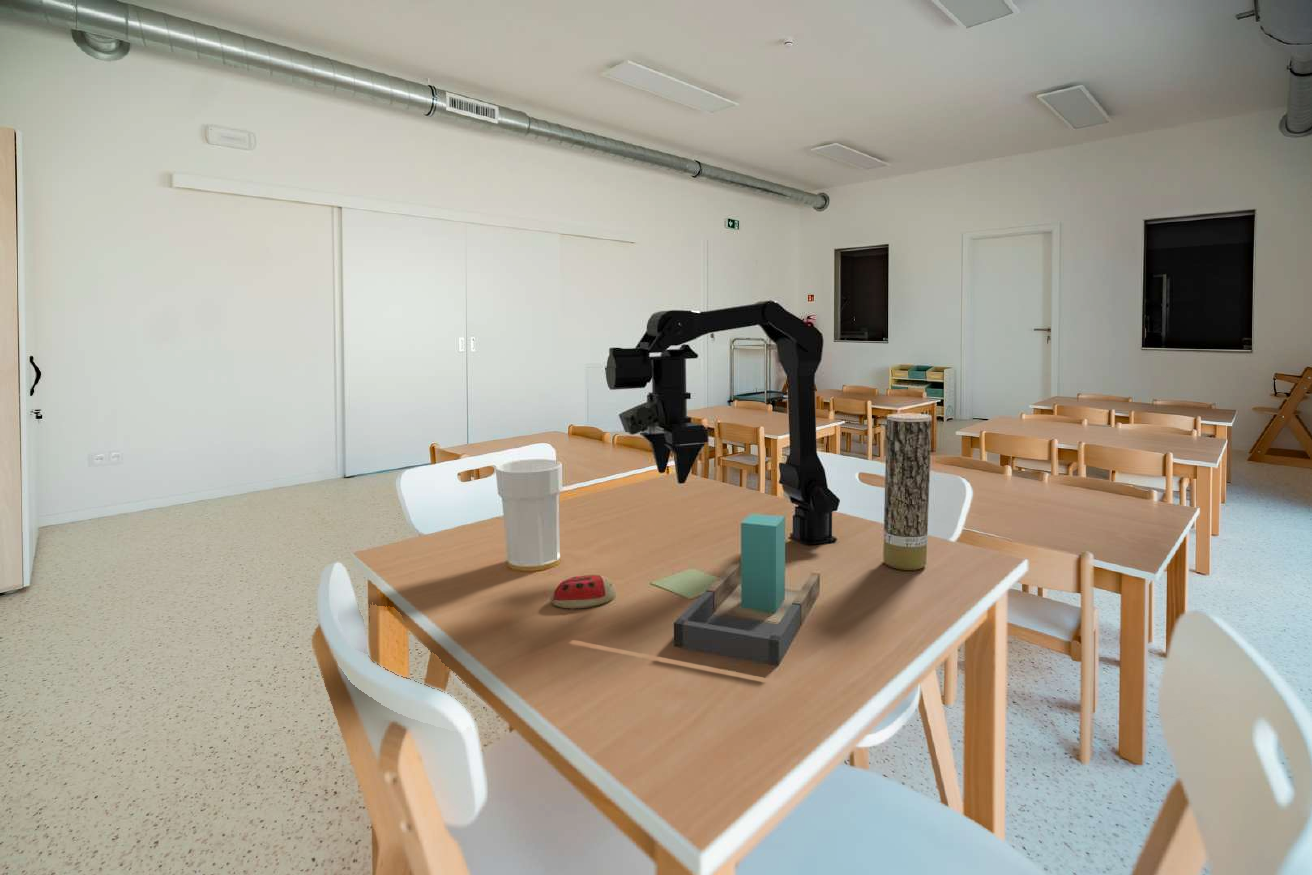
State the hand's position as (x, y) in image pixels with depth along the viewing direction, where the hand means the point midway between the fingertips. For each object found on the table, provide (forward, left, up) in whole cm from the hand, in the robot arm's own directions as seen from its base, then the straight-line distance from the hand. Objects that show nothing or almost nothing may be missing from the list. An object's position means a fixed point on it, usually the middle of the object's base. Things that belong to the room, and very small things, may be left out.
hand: (671, 477), depth 116 cm
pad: (+2, +12, -15) cm, 19 cm away
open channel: (-5, +23, -15) cm, 28 cm away
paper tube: (-34, +18, -15) cm, 42 cm away
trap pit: (+3, +32, -15) cm, 35 cm away
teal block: (-5, +24, -14) cm, 28 cm away
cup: (+23, -9, -15) cm, 29 cm away
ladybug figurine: (+19, +11, -15) cm, 26 cm away
